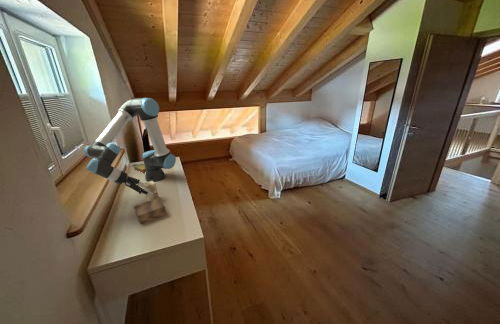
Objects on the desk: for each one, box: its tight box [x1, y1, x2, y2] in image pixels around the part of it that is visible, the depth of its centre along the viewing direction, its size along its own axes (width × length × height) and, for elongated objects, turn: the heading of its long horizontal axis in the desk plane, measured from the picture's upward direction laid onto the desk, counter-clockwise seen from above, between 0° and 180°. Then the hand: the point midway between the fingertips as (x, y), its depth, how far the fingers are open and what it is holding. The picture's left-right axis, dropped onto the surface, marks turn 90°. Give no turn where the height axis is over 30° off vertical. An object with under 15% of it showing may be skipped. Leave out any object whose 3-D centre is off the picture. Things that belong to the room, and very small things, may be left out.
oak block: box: [142, 181, 160, 202], centre depth 139 cm, size 6×6×12 cm
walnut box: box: [133, 197, 167, 225], centre depth 124 cm, size 14×12×6 cm
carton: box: [133, 163, 146, 174], centre depth 192 cm, size 8×16×4 cm, turn 54°
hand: (149, 190), depth 138 cm, fingers open, 13 cm apart
